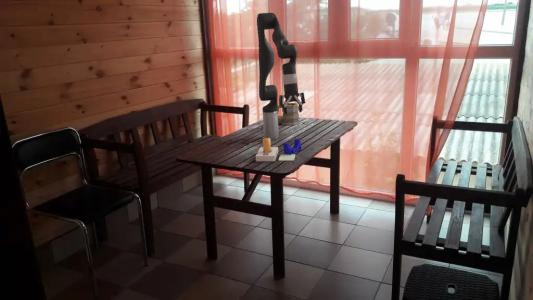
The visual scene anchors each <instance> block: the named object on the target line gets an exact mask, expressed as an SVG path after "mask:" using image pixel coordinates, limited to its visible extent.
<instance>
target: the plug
mask: <svg viewBox="0 0 533 300" xmlns="http://www.w3.org/2000/svg"><path fill="white" fill-rule="evenodd" d="M271 141H272V140H270V138H264V137H263V138H262V147H263V153H271V147H272V143H271Z"/></svg>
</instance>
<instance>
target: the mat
mask: <svg viewBox="0 0 533 300" xmlns="http://www.w3.org/2000/svg"><path fill="white" fill-rule="evenodd" d="M295 157H296V153H293V154H284V153H283V154H280V155H279V158H278V162H295V161H294V160H295Z"/></svg>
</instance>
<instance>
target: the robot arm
mask: <svg viewBox="0 0 533 300" xmlns="http://www.w3.org/2000/svg"><path fill="white" fill-rule="evenodd" d="M256 27H257V28H256V30H257V39H258V41H257V42H258V68H259V69H258V71H259V72H258V73H259V74H258V75H259V77H258V78H259V80H258V97H259V100H260V101H261V102H266V101H267V102H268V101H269V103H267V104H266V105H264V106H263V107H262V109H261V110H262V123H263V124H262V125H263V139H264V138H270V141H274V140H278V139H279V138H280V135H279V134H280V133H279V122H278V118H279V116H278V114H279V112H277V107H278V105H279V106H281V107H283V112H284V113H285V114H287V107H286V106H287V104H288V103H297V104H298V107H299V111H298V113H302V112H303V109H304V108H303V105H304V104H306V98H305V93H304V92H299V86H298V77H297V70H296V66H297V65H296V61H297V58H298V57H297V56H298V47H297V46H296V45H295V44H291V43H290V44H289V40H288V38H287V36H286V35H285V34H284V32H283V29H282V27H281V24H280V21H279V19H278V16H277V15H276V13H274V12H260V13H258V14H257V16H256ZM266 30H273V32H272V34H271V35H272V36H271V39H272V42H273V44H274V46H275V47H276V50H277V57H278V58H280V59H281V60H282V59H284V60H286V59H289V61H288V62H286V63H283V64H282V67H281V68H282V69H281V71H282V83H283V92H284V94H283V95H281V94H278V88H277V86H276V85H275V84H268V85H267V79H268V77H269V75H270V74H271V71H272V70H273V67H274V66H275V51H274V49H273V48H272V46H271V44H270V43H269V41H268V40H267V39H268V38H267V37H266V32H265V31H266ZM299 97H300V99H299ZM283 112H282V113H283Z"/></svg>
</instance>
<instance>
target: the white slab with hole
mask: <svg viewBox="0 0 533 300" xmlns="http://www.w3.org/2000/svg"><path fill="white" fill-rule="evenodd" d="M278 154H279V147H278V146H273V147H272V146H271V153H263V146H261V147H259V150H258V151H257V152H256V154H255V162H275V161H276V160H277V157H278Z"/></svg>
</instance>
